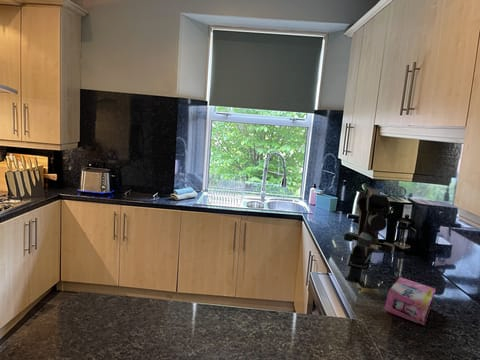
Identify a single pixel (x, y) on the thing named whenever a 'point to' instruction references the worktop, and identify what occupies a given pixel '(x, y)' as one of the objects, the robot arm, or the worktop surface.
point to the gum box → (410, 300)
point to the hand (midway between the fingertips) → (364, 262)
